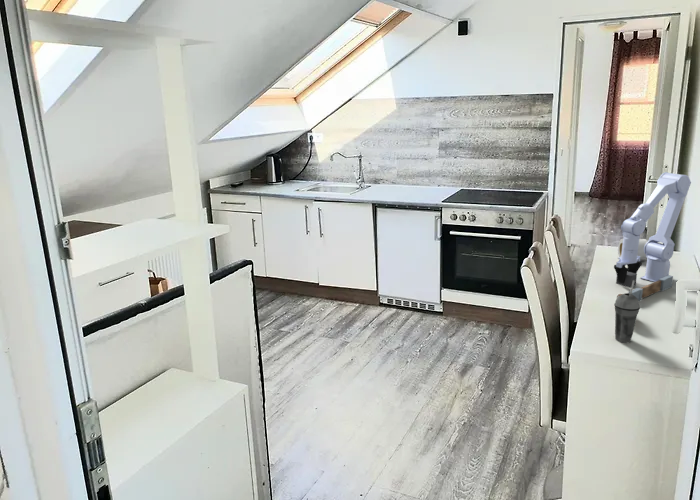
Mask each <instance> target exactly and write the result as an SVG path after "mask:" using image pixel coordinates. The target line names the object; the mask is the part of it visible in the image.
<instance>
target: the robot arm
mask: <svg viewBox="0 0 700 500" xmlns="http://www.w3.org/2000/svg"><path fill="white" fill-rule="evenodd" d="M656 184H657V185H656V187H655V188H654V189H653V191H652V193H651V195H650V196H649V197H648V198H647V200H646V201H645V203H640V205H638V207H637V208H636V210H635V211H634V212H633V213H632V215H631V216H630V217H629V218H626V219H625V220H623V222H622V224H621V225H620V230H621V231H622V234H621V235H622V239H623V245H622V254H621V257H619V256H618V258H617V259H618V261H616V264H614V266H613V269H614V270H615V273H616V279H617V278H618V283H622V284H623V283H624V282H625V278H626V275H627V272H632V273H636V274H638V271H639V269H640V268H641V266H643V263H642V262H641V261H640V256H637V253H638V245H639V239H640V235H642V234H643V233H644V231H645V228H646V226H647V222H648V220H649V219H651V217H652V215H654V213H655V209H654V208H655V207H656V206H657V205H658V204H659V203H660V202H661V200H663V199H664V198H665V196H667V195H668V197H669V198H668V201H667V203H666V206H665V208H664V211H663V214H662V217H661V219H660V223H659V225H658V227H657V231H656V233H655V234H654V235H652V236H649V237H648V239H647V241H648V242H647V243H646V244H645V246H644V253H645V254H646V257H647V260H646V264H645V265H646V267H645V274H644V276H641V277H640V279H642V280H646V281H650V282H652V283H654V282H656V281H658V280H659V279H660V278H663V277H666V276H668V275H670V268H671V261H670V259H671V258H672V257H673V255H674V249H675V245H676V244H675V243H674V241H673V240H672V239H671V237H672V235H673V231H674V229H675V226H676V223H677V221H678V219H679V216H680V212H681V211H682V208H683V204H684V202H685V200H686V197H687V195H688V192H689V190H690V188H691V187H690V186H691V184H692V181H691V179H690V177H689V175H687V174H679V173H672V172H668V171H665V172H663V173H661V174H660V176H659V178H658V179H657V180H656ZM626 266H627V267H626Z"/></svg>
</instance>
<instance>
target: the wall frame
mask: <svg viewBox="0 0 700 500" xmlns="http://www.w3.org/2000/svg"><path fill="white" fill-rule="evenodd" d="M673 279H674V275H670V274H669V275H668V276H666V277H663V278H660V279H659V280H661V288H660V291H659V292H664V291H665V290H668V289H670V288H672V285H673V281H674V280H673ZM630 291H631V290H629V291H628V293H629V294H630ZM642 294H643V289H641V287H635V288H633V290H632V295H634V296H635V297H636V298H637V299H638V301H639V302H641V301H642V300H643V298H642Z"/></svg>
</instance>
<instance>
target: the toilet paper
mask: <svg viewBox="0 0 700 500" xmlns="http://www.w3.org/2000/svg"><path fill="white" fill-rule="evenodd" d="M647 242H648V239H646V238H639V245H638V253H637V256H640V261H639V262H641V261H642V262H643V261H647V257H646V254H645V253H644V246H645V244H646V243H647ZM622 245H623V238H620V240H619V241H618V246H617V247H618V248H617V255H618V257H621V254H622Z"/></svg>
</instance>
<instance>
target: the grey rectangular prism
mask: <svg viewBox="0 0 700 500" xmlns="http://www.w3.org/2000/svg"><path fill="white" fill-rule="evenodd" d="M637 275H638V273H632V272H627V275H626V278H625V282H624V283H623V284H622V283H618V278H617V277H616V282H615V284H617V285H619V286H622V287H627V288H631V286H632V282H633V280H634V281H635V282H634V286H633V287H635V286H636V285H637V277H638V276H637Z"/></svg>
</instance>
